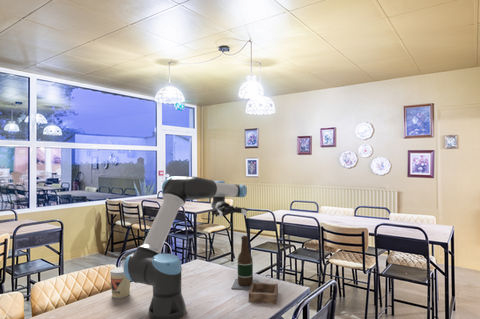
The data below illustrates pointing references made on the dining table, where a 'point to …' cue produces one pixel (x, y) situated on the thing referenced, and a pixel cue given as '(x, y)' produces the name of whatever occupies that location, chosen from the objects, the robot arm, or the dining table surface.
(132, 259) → the robot arm
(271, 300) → the caddy
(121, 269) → the coffee cup
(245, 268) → the beer bottle
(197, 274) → the dining table surface
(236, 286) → the coaster
